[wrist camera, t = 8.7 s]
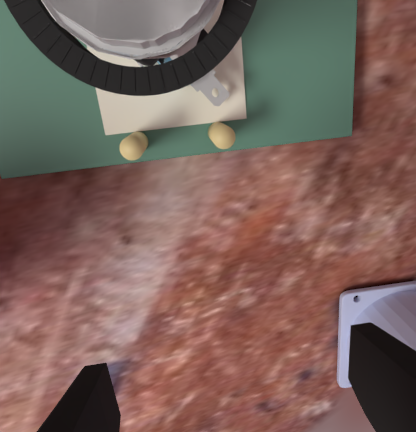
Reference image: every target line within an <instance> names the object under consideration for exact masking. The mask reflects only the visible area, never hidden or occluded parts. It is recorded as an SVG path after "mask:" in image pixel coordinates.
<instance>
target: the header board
mask: <svg viewBox="0 0 416 432" xmlns="http://www.w3.org/2000/svg"><path fill="white" fill-rule="evenodd" d="M223 3H224V0H220V2H219V4H218V6H217V8H216V10H215V12H214V14H213V16H212V17H211V19H210V21H209V22H208V23H207V25H206V26H205V27H204V30H205V31H206V32H207V33H209V32H210V31H211V29H212V28H213V26H214V25H215V23H216V22H217V20H218V19H219V16H220V13H221V10H222V6H223ZM356 21H357V0H257V2H256V6H255V9H254V11H253V13H252V16H251V18H250V20H249V23H248V25H247V27H246V28H245V30H244V32H243V34H242V36H241V37H240V39H239V40H238V42H237V43H236V45H235V46H234V47H233V49H232V50H231V51H230V52H229V53H228V55H227V56H226V57H225V58H224V59H223V60H222V61H221V62H220V63H219V64H218V65H217V66H216V67H215V68H214V69H213V70H214V71H215V72H216V73H215V74H214V76H215V77H216V78H217V80H218V81H219V82H220V83H221V84H222V85H223V86H224V87H225V89H226V90H227V91H228V92H229V97H228V98H227V99H226V100H225V101H224V102H223V103H222V104H221V105H220V106H214V105H213V104H212V103H211V102H210V100H209V99H208V98H207V97H206V96H205V95H204V94H203V93H202V92H201V91H200V90H199V91H198V92H197V91H196V90H195V89H194V88H193V87H192V86H191V85H188V86H185V87H183V88H181V89H178V90H175V91H172V92H169V93H164V94H159V95H151V96H130V95H123V94H116V93H112V92H108V91H104V90H101V89H98V88H96V87H93V86H90V85H88V84H86V83H84V82H82V81H80V80H78V79H76V78H74V77H73V76H71V75H69V74H68V73H66V72H65V71H63V70H62V69H61V68H59V67H58V66H57V65H55V64H54V63H53V62H51V61H50V60H49V59H48V58H47V57H46V56H45V55H44V54H43V53H42V52H40V50H39V49H38V48H37V47H36V46H35V45H34V44H33V43H32V42H31V41H30V40H29V38H28V37H27V36H26V34H25V33H24V32H23V30H22V29H21V28H20V27H19V25H18V23H17V22H16V20H15V19H14V17H13V16H12V14H11V13H10V11H9V9H8V7H7V5H6V3H5V1H4V0H0V175H1V178H2V179H5V178H13V177H21V176H29V175H37V174H45V173H54V172H62V171H70V170H78V169H86V168H94V167H102V166H110V165H119V164H127V163H135V162H143V161H151V160H159V159H167V158H176V157H184V156H192V155H200V154H208V153H216V152H224V151H233V150H241V149H249V148H257V147H265V146H273V145H281V144H289V143H298V142H306V141H314V140H322V139H330V138H338V137H346V136H352V120H353V95H354V70H355V45H356ZM76 39H77V38H76ZM77 40H78V41H79V42H80V43H81V44H82V45H83V46H84V47H85V48H86V49H87V50H89V51H90V52H91V53H92V54H94V55H95V56H96V57H98V58H100V59H101V60H104V61H107V62H110V63H113V64H118V65H123V66H132V67H141V66H140V65H139V64H138V63H137V62H136V61H135V60H134V59H127V58H123V57H118V56H114V55H110V54H106V53H102V52H98V51H96V50H94V49H92V48H90V47H88V46H87V45H85V44H84V43H83V42H81V41H80V40H79V39H77ZM154 65H158V63H157V62H156V63H155V64H154ZM143 66H144V67H145V65H143ZM218 94H219V92H218V90H217V89H216V88H214V89H213V90H212V95H213V96H214V97H217V96H218Z"/></svg>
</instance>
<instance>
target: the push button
mask: <svg viewBox="0 0 416 432" xmlns="http://www.w3.org/2000/svg"><path fill="white" fill-rule="evenodd" d="M4 1H5V3H6V5H7V7H8V9H9V11H10V13H11V14H12V16H13V17H14V19H15V20H16V22H17V23H18V25H19V27H20V28H21V29H22V30H23V32H24V33H25V34H26V36H27V37H28V38H29V40H30V41H31V42H32V43H33V44H34V45H35V46H36V47H37V48H38V49H39V50H40V52H42V53H43V54H44V55H45V56H46V57H47V58H48V59H49V60H50V61H51V62H53V63H54V64H55V65H57V66H58V67H59V68H61V69H62V70H63V71H65V72H66V73H68V74H69V75H71V76H73V77H74V78H76V79H78V80H80V81H82V82H84V83H86V84H88V85H90V86H93V87H96V88H98V89H101V90H104V91H108V92H112V93H116V94H123V95H130V96H151V95H159V94H164V93H169V92H172V91H175V90H178V89H181V88H183V87H185V86H188V85H191V86H192V87H193V88H194V89H195V90H196V91H197V92H198V91H199V90H200V91H201V92H202V93H203V94H204V95H205V96H206V97H207V98H208V99H209V100H210V102H211V103H212V104H213V105H214V106H220V105H221V104H222V103H223V102H224V101H225V100H226V99H227V98H228V97H229V92H228V91H227V90H226V89H225V87H224V86H223V85H222V84H221V83H220V82H219V81H218V80H217V78H216V77H215V76H214V74H215V73H216V72H215V71H214V70H213V69H214V68H215V67H216V66H217V65H218V64H219V63H220V62H221V61H222V60H223V59H224V58H225V57H226V56H227V55H228V53H229V52H230V51H231V50H232V49H233V47H234V46H235V45H236V43H237V42H238V40H239V39H240V37H241V36H242V34H243V32H244V30H245V28H246V27H247V25H248V23H249V20H250V18H251V16H252V13H253V11H254V9H255V6H256V2H257V0H224V3H223V6H222V10H221V13H220V16H219V19H218V20H217V22H216V23H215V25H214V26H213V28H212V29H211V31H210V32H209V33H207V32H206V31H205V30H204V27H205V26H206V25H207V23H208V22H209V21H210V19H211V17H212V16H213V14H214V12H215V10H216V8H217V6H218V4H219V2H220V0H4ZM76 38H77V39H79V40H80V41H81V42H83V43H84V44H85V45H87V46H88V47H90V48H92V49H94V50H96V51H98V52H102V53H106V54H110V55H114V56H118V57H123V58H127V59H134V60H135V61H136V62H137V63H138V64H139V65H140V66H141V67H132V66H123V65H118V64H113V63H110V62H107V61H104V60H101V59H100V58H98V57H96V56H95V55H94V54H92V53H91V52H90V51H89V50H87V49H86V48H85V47H84V46H83V45H82V44H81V43H80V42H79V41H78V40H77V39H76ZM156 62H157V63H158V65H154V64H155V63H156ZM143 65H145V67H144V66H143ZM214 88H216V89H217V90H218V92H219V94H218V96H217V97H214V96H213V95H212V90H213V89H214Z"/></svg>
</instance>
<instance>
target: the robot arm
mask: <svg viewBox="0 0 416 432" xmlns="http://www.w3.org/2000/svg"><path fill="white" fill-rule="evenodd" d="M355 296H358V297H357V298H355V299H354V297H355ZM337 382H338V384H339V386H340V387H342V388H347V387H352V388H353V390H354V392H355V394H356V397H357V399H358V401H359V403H360V405H361V407H362V409H363V411H364V413H365V415H366V416H367V418H368V420H369V421H370V423H371V425H372V426H373V428H374V429H375V431H376V432H416V281H410V282H403V283H396V284H389V285H382V286H375V287H369V288H362V289H355V290H348V291H344V292H343V293H342V294H341V295H340V301H339V331H338V361H337ZM120 416H121V415H120V411H119V407H118V404H117V400H116V396H115V393H114V389H113V386H112V382H111V378H110V375H109V371H108V367H107V364H106V363H102V364H95V365H89V366H85V367H84V368H83V369H82V370H81V372H80V373H79V374H78V376H77V377H76V379H75V380H74V381H73V383H72V384H71V386H70V387H69V388H68V390H67V391H66V393H65V394H64V395H63V397H62V398H61V400H60V401H59V402H58V404H57V405H56V407H55V408H54V409H53V411H52V412H51V413H50V415H49V416H48V417H47V419H46V420H45V421H44V423H43V424H42V425H41V427H40V428H39V429H38V431H37V432H119V428H120Z"/></svg>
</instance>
